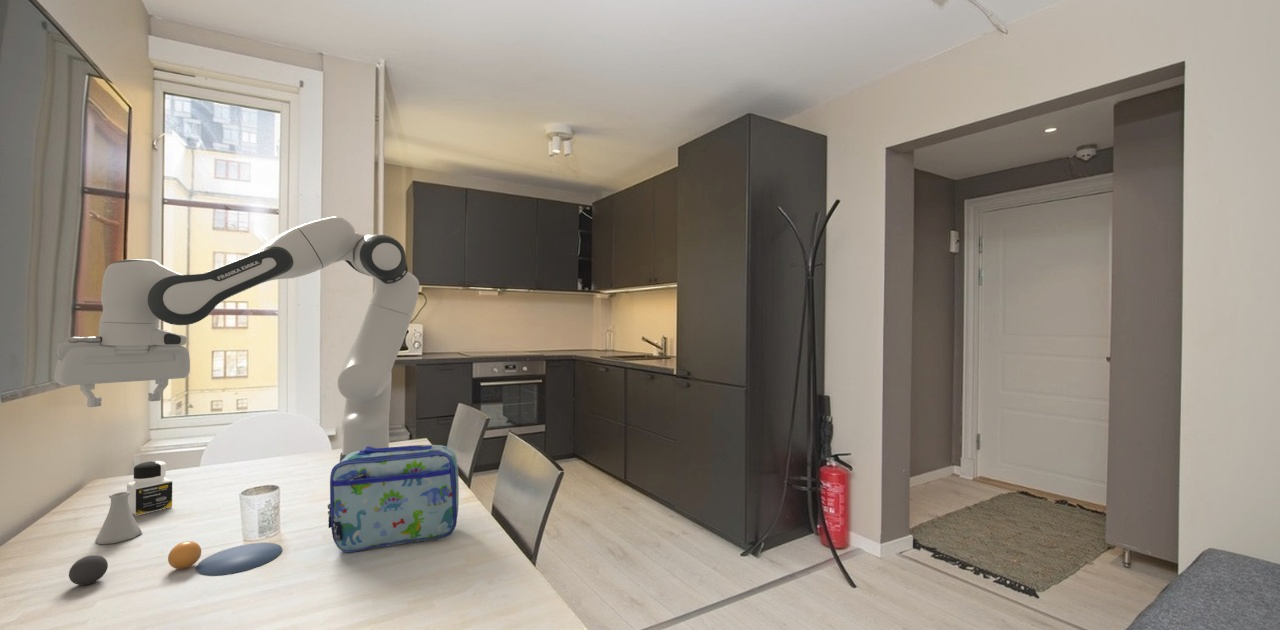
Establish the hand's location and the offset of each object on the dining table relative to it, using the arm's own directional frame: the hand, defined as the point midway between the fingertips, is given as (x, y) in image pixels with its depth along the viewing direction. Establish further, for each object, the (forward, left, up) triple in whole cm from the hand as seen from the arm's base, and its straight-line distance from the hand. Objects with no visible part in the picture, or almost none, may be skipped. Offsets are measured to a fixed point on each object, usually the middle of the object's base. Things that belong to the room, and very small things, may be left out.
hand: (125, 403), depth 107 cm
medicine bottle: (+6, -33, -32) cm, 47 cm away
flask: (+5, -13, -32) cm, 35 cm away
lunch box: (-51, +15, -32) cm, 62 cm away
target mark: (-22, +11, -32) cm, 40 cm away
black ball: (+1, +11, -29) cm, 31 cm away
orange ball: (-13, +11, -29) cm, 34 cm away
